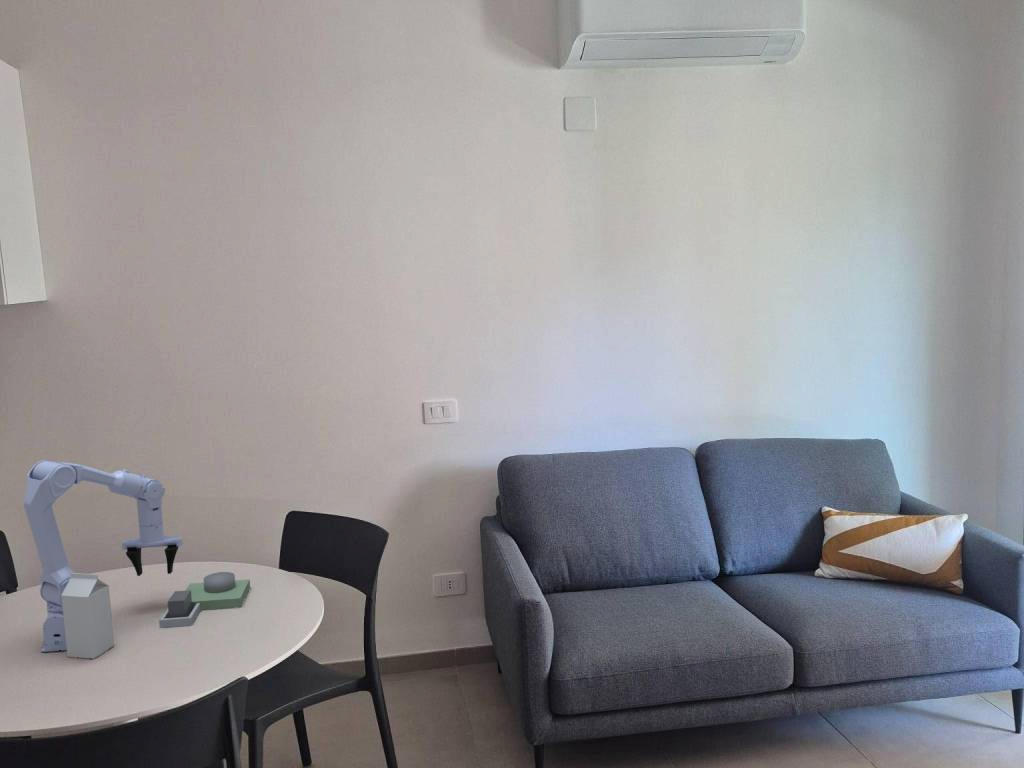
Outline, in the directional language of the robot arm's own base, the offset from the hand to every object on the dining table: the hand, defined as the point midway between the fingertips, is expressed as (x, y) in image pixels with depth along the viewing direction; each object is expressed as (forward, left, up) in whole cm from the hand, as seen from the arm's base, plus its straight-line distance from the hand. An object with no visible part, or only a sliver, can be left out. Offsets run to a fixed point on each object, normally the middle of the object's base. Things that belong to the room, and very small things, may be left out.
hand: (155, 573), depth 223 cm
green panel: (-2, -13, -9) cm, 16 cm away
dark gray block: (-8, -8, -10) cm, 15 cm away
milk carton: (-25, +8, -10) cm, 28 cm away
